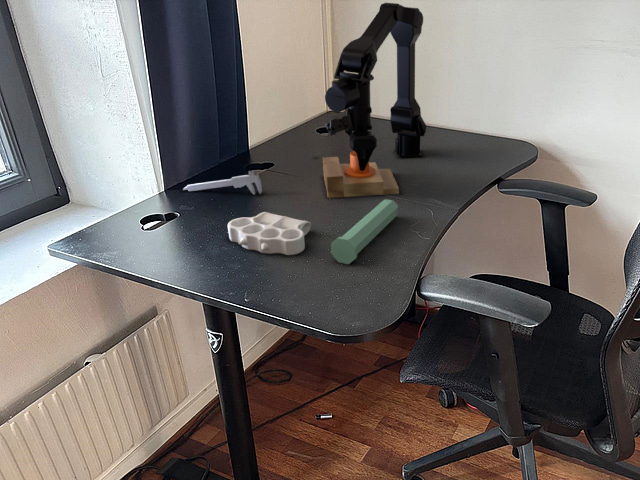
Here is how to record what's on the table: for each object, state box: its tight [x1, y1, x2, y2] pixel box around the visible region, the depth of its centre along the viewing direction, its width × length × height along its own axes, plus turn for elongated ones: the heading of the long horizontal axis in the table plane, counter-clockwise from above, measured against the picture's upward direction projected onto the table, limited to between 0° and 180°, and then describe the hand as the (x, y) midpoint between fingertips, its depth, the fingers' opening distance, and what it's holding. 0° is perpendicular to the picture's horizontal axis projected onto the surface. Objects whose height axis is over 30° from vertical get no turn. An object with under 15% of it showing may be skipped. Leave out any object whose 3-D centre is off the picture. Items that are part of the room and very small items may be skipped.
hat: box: [344, 150, 375, 178], centre depth 156 cm, size 8×8×5 cm
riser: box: [322, 156, 400, 199], centre depth 158 cm, size 18×14×6 cm
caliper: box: [182, 169, 263, 196], centre depth 153 cm, size 20×1×6 cm, turn 84°
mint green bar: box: [330, 198, 399, 265], centre depth 133 cm, size 6×6×25 cm
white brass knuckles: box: [227, 211, 312, 256], centre depth 132 cm, size 3×18×15 cm
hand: (359, 164), depth 157 cm, fingers open, 9 cm apart
